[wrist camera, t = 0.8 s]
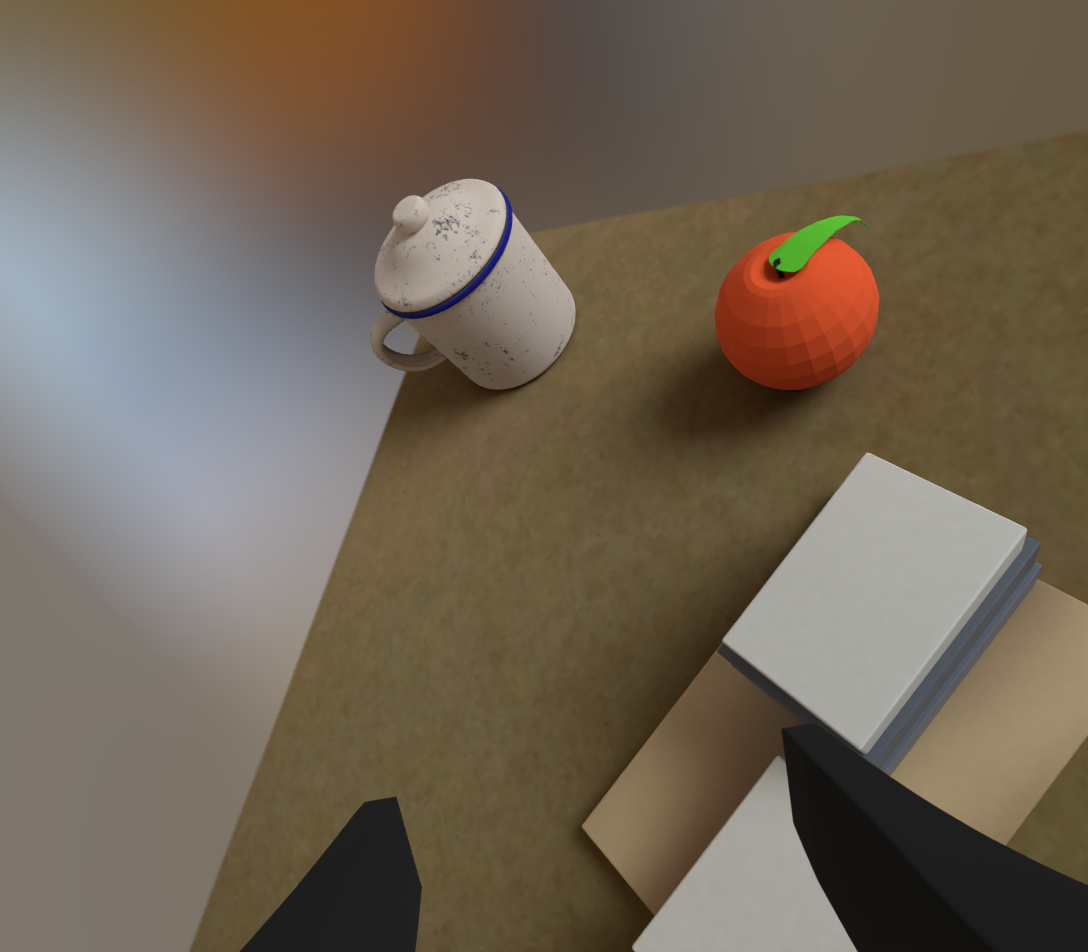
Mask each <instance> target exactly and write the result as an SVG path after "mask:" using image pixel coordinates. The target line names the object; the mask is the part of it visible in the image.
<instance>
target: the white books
mask: <svg viewBox="0 0 1088 952" xmlns="http://www.w3.org/2000/svg"><path fill="white" fill-rule="evenodd" d="M632 949H633V950H634V952H857V950H856V948H855V947H854V945H853V943H852V941H851V940H850V938H849V936H848V934H847V933H846V931H845V929H844V927H843V925H842V924H841V922H840V920H839V918H838V916H837V915H836V913H835V911H834V909H833V907H832V906H831V904H830V902H829V900H828V899H827V897H826V895H825V893H824V891H823V889H822V888H821V886H820V884H819V882H818V880H817V878H816V876H815V873H814V871H813V869H812V867H811V864H810V862H809V860H808V858H807V855H806V853H805V851H804V848H803V846H802V843H801V841H800V839H799V836H798V834H797V831H796V829H795V827H794V824H793V818H792V810H791V802H790V794H789V786H788V778H787V770H786V762H785V758H784V757H781V756H776V757H775V759H774V760H773V761H772V763H771V764H770V765H769V766H768V768H767V769H766V770H765V772H764V773H763V774H762V776H761V777H760V778H759V780H758V781H757V782H756V784H755V785H754V786H753V787H752V789H751V790H750V791H749V793H748V794H747V795H746V797H745V798H744V799H743V801H742V802H741V803H740V805H739V806H738V807H737V808H736V810H735V811H734V812H733V814H732V815H731V816H730V818H729V819H728V820H727V822H726V823H725V824H724V826H723V827H722V828H721V829H720V831H719V832H718V833H717V835H716V836H715V837H714V839H713V840H712V841H711V843H710V844H709V845H708V847H707V848H706V849H705V851H704V852H703V853H702V854H701V856H700V857H699V858H698V860H697V861H696V862H695V864H694V865H693V866H692V868H691V869H690V870H689V872H688V873H687V874H686V875H685V877H684V878H683V879H682V881H681V882H680V883H679V885H678V886H677V887H676V889H675V890H674V891H673V893H672V894H671V895H670V896H669V898H668V899H667V900H666V902H665V903H664V904H663V906H662V907H661V908H660V910H659V911H658V912H657V914H656V915H655V916H654V917H653V919H652V920H651V921H650V923H649V924H648V925H647V927H646V928H645V929H644V931H643V932H642V933H641V935H640V936H639V937H638V938H637V940H636V941H635V942H634V944H633V945H632Z"/></svg>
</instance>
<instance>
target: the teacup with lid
mask: <svg viewBox="0 0 1088 952" xmlns="http://www.w3.org/2000/svg"><path fill="white" fill-rule="evenodd" d="M393 223H394V225H395V226H394V227H393V228H392V230H391V231H390V233H389V234H388V236H387V238H386V239H385V241H384V243H383V245H382V248H381V250H380V252H379V255H378V258H377V261H376V266H375V286H376V290H377V293H378V296H379V297H380V299H381V301H382V303H383V305H384V306H385V307H386V308H387V311H386V312H384V313H383V314H382V315H381V316H380V317H379V318H378V319H377V320H376V321H375V323H374V325H373V326H372V329H371V333H370V342H371V346H372V349H373V352H374V353H375V355H376V356H377V357H378V358H379V359H380V360H381V361H383V362H384V363H385V364H387V365H389V366H391V367H393V368H396V369H399V370H403V371H423V370H427V369H430V368H432V367H434V366H436V365H438V364H440V363H441V362H443V361H444V360H446V359H447V358H448V359H449V360H450V361H451V362H452V363H453V364H454V365H455V366H456V367H458V368H459V369H460V370H461V371H462V372H463V373H464V374H465V375H466V376H468V377H469V378H470V379H471V380H472V381H473V382H475V383H476V384H478V385H479V386H482V387H485V388H488V389H496V390H501V389H509V388H513V387H517V386H519V385H522V384H524V383H527V382H529V381H530V380H532V379H534V378H535V377H537V376H538V375H540V374H541V373H542V372H544V371H545V370H546V369H547V368H548V367H549V366H550V365H551V364H552V363H553V362H554V361H555V360H556V359H557V358H558V357H559V355H560V354H561V353H562V351H563V350H564V348H565V346H566V345H567V343H568V341H569V339H570V336H571V334H572V331H573V327H574V323H575V314H576V312H575V303H574V299H573V297H572V295H571V293H570V291H569V289H568V288H567V287H566V285H565V284H564V282H563V281H562V280H561V278H560V277H559V276H558V274H557V273H556V271H555V270H554V269H553V267H552V266H551V265H550V263H549V262H548V260H547V259H546V258H545V256H544V255H543V254H542V252H541V251H540V249H539V248H538V247H537V245H536V244H535V243H534V241H533V240H532V238H531V237H530V236H529V234H528V233H527V232H526V230H525V229H524V228H523V226H522V225H521V223H520V222H519V221H518V219H517V218H516V216H515V215H514V214H513V212H512V208H511V204H510V202H509V200H508V198H507V196H506V195H505V194H504V193H503V192H502V191H501V190H500V189H498V188H497V187H495V186H494V185H492V184H490V183H488V182H485V181H482V180H478V179H464V180H459V181H454V182H451V183H448V184H446V185H444V186H441V187H439V188H437V189H435V190H434V191H432V192H430V193H429V194H427V195H426V196H424V197H423V198H421V197H419V196H409V197H406V198H405V199H403V200H402V201H401V202H400V203H399V204H398V205H397V206H396V208H395V210H394V212H393ZM404 320H406V321H407V322H408V323H409V324H410V325H411V326H412V327H413V328H415V329H416V330H417V331H418V332H419V333H420V334H421V335H422V336H423V337H424V338H426V339H427V340H428V341H429V342H430V343H431V344H432V345H433V346H434V347H433V348H432V349H430V350H428V351H426V352H424V353H420V354H415V355H408V354H401V353H398V352H395V351H393V350H391V349H389V348H388V347H387V346H385V345H384V344H383V341H384V339H385V337H386V335H387V334H388V333H389V332H390V331H391V330H392V329H393V328H394V327H396V326H397V325H399V324H400V323H401V322H403V321H404Z"/></svg>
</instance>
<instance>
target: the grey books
mask: <svg viewBox="0 0 1088 952" xmlns="http://www.w3.org/2000/svg"><path fill="white" fill-rule="evenodd" d="M1039 548H1040V543H1039V542H1037V541H1035V540H1033V539H1031V538H1029V537H1027V536H1026V537H1025V541H1024V544H1023V548H1022V550H1021V551H1020V553H1019V554H1018V555H1017V557H1016V558H1015V559H1014V561H1013V562H1012V563H1011V565H1010V566H1009V567H1008V569H1007V570H1006V571H1005V573H1004V574H1003V575H1002V577H1001V578H1000V579H999V581H998V582H997V583H996V585H995V586H994V587H993V588H992V590H991V591H990V592H989V594H988V595H987V596H986V598H985V599H984V600H983V602H982V603H981V604H980V606H979V607H978V608H977V610H976V611H975V612H974V614H973V615H972V616H971V618H970V619H969V620H968V621H967V623H966V624H965V625H964V627H963V628H962V629H961V631H960V632H959V633H958V635H957V636H956V637H955V639H954V640H953V641H952V643H951V644H950V645H949V647H948V648H947V649H946V651H945V652H944V653H943V655H942V656H941V657H940V658H939V660H938V661H937V662H936V664H935V665H934V666H933V668H932V669H931V670H930V672H929V673H928V674H927V676H926V677H925V678H924V680H923V681H922V682H921V684H920V685H919V686H918V688H917V689H916V690H915V691H914V693H913V694H912V695H911V697H910V698H909V699H908V701H907V702H906V703H905V705H904V706H903V707H902V709H901V710H900V711H899V713H898V714H897V715H896V717H895V718H894V719H893V721H892V722H891V723H890V725H889V726H888V727H887V728H886V730H885V731H884V732H883V734H882V735H881V736H880V738H879V739H878V740H877V742H876V743H875V744H874V746H873V747H872V748H871V750H870V751H869V752H868V753H867V754H864V753H862V752H861V751H859V750H858V749H856V748H855V747H854V746H853V745H851V744H850V743H849V742H847V741H846V740H845V739H844V738H842V737H841V736H840V735H839V734H837V733H836V732H835V731H834V730H832V729H831V728H830V727H829V726H827V725H826V724H825V723H823V722H822V721H821V720H820V719H818V718H817V717H816V716H815V715H813V714H812V713H811V712H810V711H808V710H807V709H806V708H804V707H803V706H802V705H801V704H799V703H798V702H797V701H796V700H794V699H793V698H792V697H791V696H789V695H788V694H787V693H786V692H784V691H783V690H782V689H780V688H779V687H778V686H777V685H775V684H774V683H773V682H772V681H770V680H769V679H768V678H767V677H765V676H764V675H763V674H761V673H760V672H759V671H758V670H756V669H755V668H754V667H753V666H751V665H750V664H749V663H748V662H746V661H745V660H744V659H742V658H741V657H740V656H739V655H737V654H736V653H735V652H734V651H732V650H731V649H730V648H729V647H727V646H726V645H725V644H724V643H723V644H722V645H721V646H720V648H719V649H718V651H717V652H718V653H719V654H720V655H721V656H722V657H724V658H725V659H726V660H727V661H729V662H730V663H731V665H732V666H733V667H734V668H735V669H736V670H738V671H739V672H740V673H741V674H743V675H744V676H745V677H746V678H748V679H749V680H750V681H751V682H753V683H754V684H755V685H756V686H757V687H759V688H760V689H761V690H762V691H764V692H765V693H766V694H767V695H769V696H770V697H771V698H772V699H774V700H775V701H776V702H777V703H778V704H780V705H781V706H782V707H783V708H785V709H786V710H787V711H788V712H790V713H791V714H792V715H793V716H795V717H796V718H797V719H798V720H799V721H801V722H802V723H803V724H810V723H816V724H817V725H819V726H820V727H821V728H823V729H824V730H826V731H827V732H828V733H830V734H831V735H833V736H834V737H835V738H837V739H838V740H840V741H841V742H842V743H844V744H845V745H846V746H848V747H849V748H851V749H852V750H853V751H855V752H856V753H858V754H859V755H860V756H862V757H863V758H865V759H866V760H867V761H869V762H870V763H872V764H873V765H874V766H876V767H877V768H879V769H880V770H882V771H883V772H884V773H886V774H887V775H889V776H891V775H892V773H893V772H894V771H895V769H896V768H897V767H898V766H899V764H900V763H901V762H902V760H903V759H904V758H905V756H906V755H907V754H908V752H909V751H910V750H911V748H912V747H913V746H914V744H915V743H916V742H917V740H918V739H919V738H920V736H921V735H922V734H923V732H924V731H925V730H926V728H927V727H928V726H929V724H930V723H931V722H932V720H933V719H934V718H935V717H936V715H937V714H938V713H939V711H940V710H941V709H942V707H943V706H944V705H945V703H946V702H947V701H948V699H949V698H950V697H951V695H952V694H953V693H954V691H955V690H956V689H957V687H958V686H959V685H960V683H961V682H962V681H963V679H964V678H965V677H966V675H967V674H968V673H969V672H970V670H971V669H972V668H973V666H974V665H975V664H976V662H977V661H978V660H979V658H980V657H981V656H982V654H983V653H984V652H985V650H986V649H987V648H988V646H989V645H990V644H991V642H992V641H993V640H994V638H995V637H996V636H997V634H998V633H999V632H1000V630H1001V629H1002V628H1003V626H1004V625H1005V624H1006V623H1007V621H1008V620H1009V619H1010V617H1011V616H1012V615H1013V613H1014V612H1015V611H1016V609H1017V608H1018V607H1019V605H1020V604H1021V603H1022V601H1023V600H1024V599H1025V597H1026V596H1027V595H1028V593H1029V592H1030V591H1031V589H1032V588H1033V587H1034V585H1035V584H1036V581H1037V578H1038V576H1039V573H1040V571H1041V568H1042V566H1041V565H1040V564H1038V563H1036V562H1035V560H1036V557H1037V554H1038V551H1039Z"/></svg>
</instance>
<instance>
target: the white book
mask: <svg viewBox="0 0 1088 952" xmlns="http://www.w3.org/2000/svg"><path fill="white" fill-rule="evenodd" d="M1026 533H1027V529H1026V528H1025V527H1023V526H1021V525H1019V524H1017V523H1015V522H1013V521H1011V520H1008V519H1006V518H1004V517H1002V516H1000V515H998V514H996V513H994V512H992V511H990V510H988V509H985V508H983V507H981V506H979V505H977V504H975V503H973V502H971V501H969V500H967V499H964V498H962V497H960V496H958V495H956V494H954V493H952V492H950V491H948V490H946V489H943V488H941V487H939V486H937V485H935V484H933V483H931V482H929V481H927V480H925V479H923V478H920V477H918V476H916V475H914V474H912V473H910V472H908V471H906V470H904V469H902V468H899V467H897V466H895V465H893V464H891V463H889V462H887V461H885V460H883V459H881V458H878V457H876V456H874V455H872V454H870V453H865V454H864V456H863V457H862V458H861V459H860V461H859V462H858V463H857V465H856V466H855V467H854V469H853V470H852V471H851V472H850V474H849V475H848V476H847V478H846V479H845V480H844V482H843V483H842V484H841V486H840V487H839V488H838V489H837V491H836V492H835V493H834V495H833V496H832V497H831V499H830V500H829V501H828V502H827V504H826V505H825V506H824V508H823V509H822V510H821V512H820V513H819V514H818V515H817V517H816V518H815V519H814V521H813V522H812V523H811V525H810V526H809V527H808V528H807V530H806V531H805V532H804V534H803V535H802V536H801V538H800V539H799V540H798V541H797V543H796V544H795V545H794V547H793V548H792V549H791V551H790V552H789V553H788V554H787V556H786V557H785V558H784V560H783V561H782V562H781V564H780V565H779V566H778V568H777V569H776V570H775V571H774V573H773V574H772V575H771V577H770V578H769V579H768V581H767V582H766V583H765V584H764V586H763V587H762V588H761V590H760V591H759V592H758V594H757V595H756V596H755V597H754V599H753V600H752V601H751V603H750V604H749V605H748V607H747V608H746V609H745V610H744V612H743V613H742V614H741V616H740V617H739V618H738V620H737V621H736V622H735V623H734V625H733V626H732V627H731V629H730V630H729V631H728V633H727V634H726V635H725V636H724V638H723V639H722V642H723V643H724V644H725V645H726V646H727V647H729V648H730V649H731V650H732V651H734V652H735V653H736V654H737V655H739V656H740V657H741V658H742V659H744V660H745V661H746V662H748V663H749V664H750V665H751V666H753V667H754V668H755V669H756V670H758V671H759V672H760V673H761V674H763V675H764V676H765V677H767V678H768V679H769V680H770V681H772V682H773V683H774V684H775V685H777V686H778V687H779V688H780V689H782V690H783V691H784V692H786V693H787V694H788V695H789V696H791V697H792V698H793V699H794V700H796V701H797V702H798V703H799V704H801V705H802V706H803V707H804V708H806V709H807V710H808V711H810V712H811V713H812V714H813V715H815V716H816V717H817V718H818V719H820V720H821V721H822V722H823V723H825V724H826V725H827V726H829V727H830V728H831V729H832V730H834V731H835V732H836V733H837V734H839V735H840V736H841V737H842V738H844V739H845V740H846V741H847V742H849V743H850V744H851V745H853V746H854V747H855V748H856V749H858V750H859V751H861V752H862V753H864V754H867V753H868V752H869V751H870V750H871V748H872V747H873V746H874V744H875V743H876V742H877V740H878V739H879V738H880V736H881V735H882V734H883V732H884V731H885V730H886V728H887V727H888V726H889V725H890V723H891V722H892V721H893V719H894V718H895V717H896V715H897V714H898V713H899V711H900V710H901V709H902V707H903V706H904V705H905V703H906V702H907V701H908V699H909V698H910V697H911V695H912V694H913V693H914V691H915V690H916V689H917V688H918V686H919V685H920V684H921V682H922V681H923V680H924V678H925V677H926V676H927V674H928V673H929V672H930V670H931V669H932V668H933V666H934V665H935V664H936V662H937V661H938V660H939V658H940V657H941V656H942V655H943V653H944V652H945V651H946V649H947V648H948V647H949V645H950V644H951V643H952V641H953V640H954V639H955V637H956V636H957V635H958V633H959V632H960V631H961V629H962V628H963V627H964V625H965V624H966V623H967V621H968V620H969V619H970V618H971V616H972V615H973V614H974V612H975V611H976V610H977V608H978V607H979V606H980V604H981V603H982V602H983V600H984V599H985V598H986V596H987V595H988V594H989V592H990V591H991V590H992V588H993V587H994V586H995V585H996V583H997V582H998V581H999V579H1000V578H1001V577H1002V575H1003V574H1004V573H1005V571H1006V570H1007V569H1008V567H1009V566H1010V565H1011V563H1012V562H1013V561H1014V559H1015V558H1016V557H1017V555H1018V554H1019V553H1020V551H1021V550H1022V548H1023V544H1024V541H1025V537H1026Z"/></svg>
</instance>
